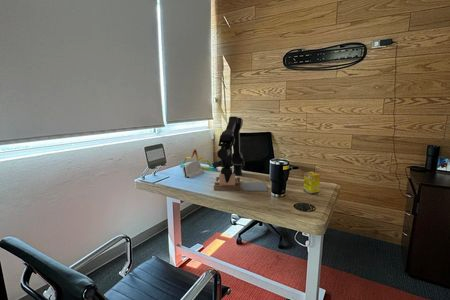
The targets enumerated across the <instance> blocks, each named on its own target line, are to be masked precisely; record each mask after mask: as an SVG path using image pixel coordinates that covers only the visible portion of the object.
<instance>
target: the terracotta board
mask: <svg viewBox="0 0 450 300" xmlns="http://www.w3.org/2000/svg"><path fill="white" fill-rule="evenodd" d="M218 177H219V185H229V186H235V177H236V175H235V174H233V173H232V174H231V177H230V179H229V181H228V183H226V180H225V175H224V174H221V173H219V176H218Z"/></svg>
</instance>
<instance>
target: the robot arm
mask: <svg viewBox="0 0 450 300" xmlns="http://www.w3.org/2000/svg"><path fill="white" fill-rule="evenodd" d="M243 125H244V120H243V118H241V117H238V116H236V115H235V116H229V117H228V121H227V124H226V128H225V130H223V131H222V132H221V133H220V136H219V141H218V147H220V148H219V149H218V151H217V153H216V155H217V157H218V158H219V159H217V160H214V161H213V162H212V163H211V165H212V166H213V167H212V168H214V169H215V168H219V167H221V169H220V174H224V175H225V180H226V183H228V181H229V179H230V177H231V174H235V176H243V169H242V168H243V167H245V160H244V155H243V153H242V152H241V135H240V134H241V128H242V127H243Z"/></svg>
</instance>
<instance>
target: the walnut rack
mask: <svg viewBox="0 0 450 300" xmlns="http://www.w3.org/2000/svg"><path fill="white" fill-rule="evenodd" d="M236 177H237V176H236ZM215 180H216V181H215V182H214V185H213V191H241V183H240V182H241V178H240V177H239V176H238V177H237V180H238V183H235V186H229V185H219V182H218V180H219V176H216V178H215Z"/></svg>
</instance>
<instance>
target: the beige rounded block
mask: <svg viewBox="0 0 450 300" xmlns="http://www.w3.org/2000/svg"><path fill="white" fill-rule="evenodd" d="M201 167H202V165H201V163H200V162H199V161H189V162H187V163H186V164H184V166H183V168H182V174H183V177H184V178H187V177H189V179H192V178H194V177H197V176H199V175H202V174H203V173H205V170H203V169H202V168H201Z"/></svg>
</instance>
